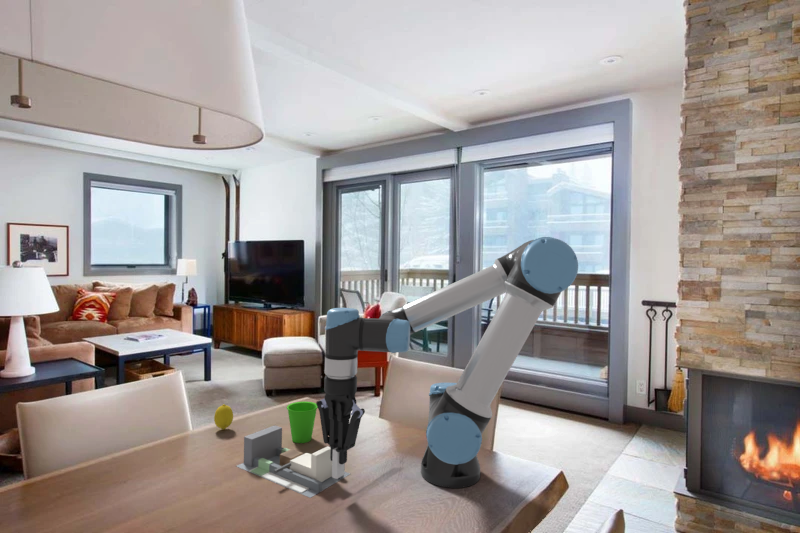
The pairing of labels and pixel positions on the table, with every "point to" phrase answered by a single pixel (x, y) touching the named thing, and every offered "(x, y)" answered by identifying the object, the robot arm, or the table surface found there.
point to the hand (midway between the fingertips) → (338, 475)
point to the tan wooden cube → (289, 456)
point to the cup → (302, 420)
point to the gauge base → (278, 463)
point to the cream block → (312, 464)
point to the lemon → (223, 417)
